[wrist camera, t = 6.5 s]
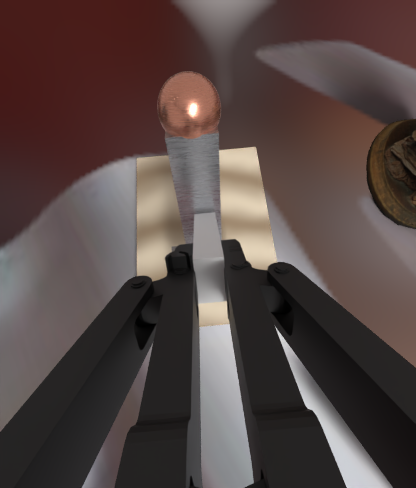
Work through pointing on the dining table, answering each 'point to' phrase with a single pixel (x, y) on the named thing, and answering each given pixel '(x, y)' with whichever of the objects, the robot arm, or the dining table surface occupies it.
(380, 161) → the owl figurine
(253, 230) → the tan bracket base plate
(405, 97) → the dining table surface
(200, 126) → the lever
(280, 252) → the dining table surface
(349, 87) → the dining table surface
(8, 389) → the dining table surface
